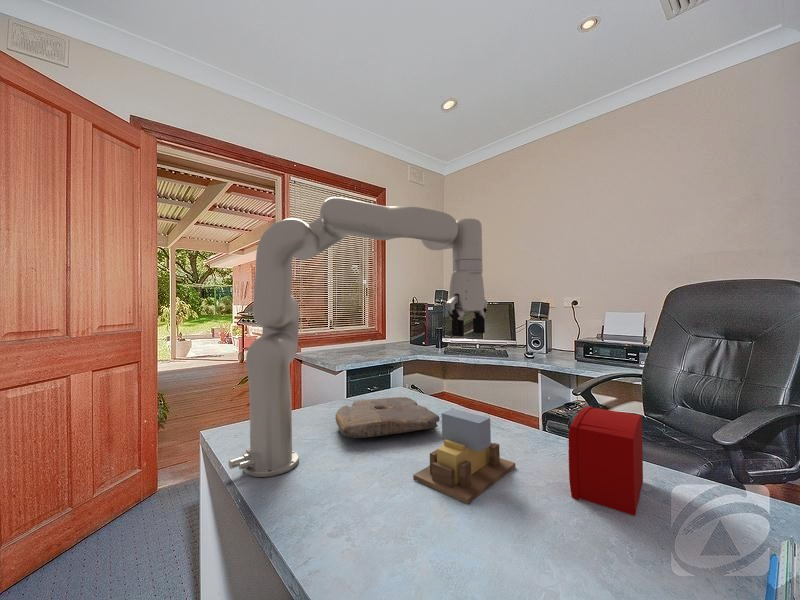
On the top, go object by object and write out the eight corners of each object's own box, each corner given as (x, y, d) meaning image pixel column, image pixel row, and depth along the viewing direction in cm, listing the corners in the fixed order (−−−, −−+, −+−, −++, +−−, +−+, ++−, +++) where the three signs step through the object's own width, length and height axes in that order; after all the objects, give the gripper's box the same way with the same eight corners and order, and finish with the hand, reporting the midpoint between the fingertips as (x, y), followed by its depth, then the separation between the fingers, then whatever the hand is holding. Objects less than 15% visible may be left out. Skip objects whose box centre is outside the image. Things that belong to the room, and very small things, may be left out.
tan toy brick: (456, 484, 72) (456, 450, 72) (437, 476, 75) (436, 444, 75) (490, 461, 82) (490, 431, 82) (472, 455, 85) (471, 426, 85)
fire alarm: (587, 466, 81) (585, 401, 81) (643, 480, 74) (641, 410, 74) (569, 497, 68) (567, 421, 68) (634, 518, 61) (632, 433, 61)
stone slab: (445, 436, 101) (444, 414, 101) (345, 452, 91) (345, 428, 91) (407, 406, 130) (406, 390, 130) (328, 416, 120) (328, 398, 120)
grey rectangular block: (479, 451, 73) (479, 423, 73) (442, 439, 80) (441, 413, 80) (490, 445, 77) (490, 417, 77) (453, 433, 84) (453, 408, 84)
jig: (467, 504, 66) (467, 475, 66) (413, 479, 76) (412, 454, 76) (515, 467, 81) (515, 443, 81) (464, 450, 91) (464, 429, 91)
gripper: (473, 271, 98) (474, 331, 98) (435, 267, 86) (436, 336, 86) (497, 268, 93) (498, 332, 93) (460, 264, 81) (462, 338, 80)
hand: (468, 334), depth 89 cm, fingers open, 9 cm apart
